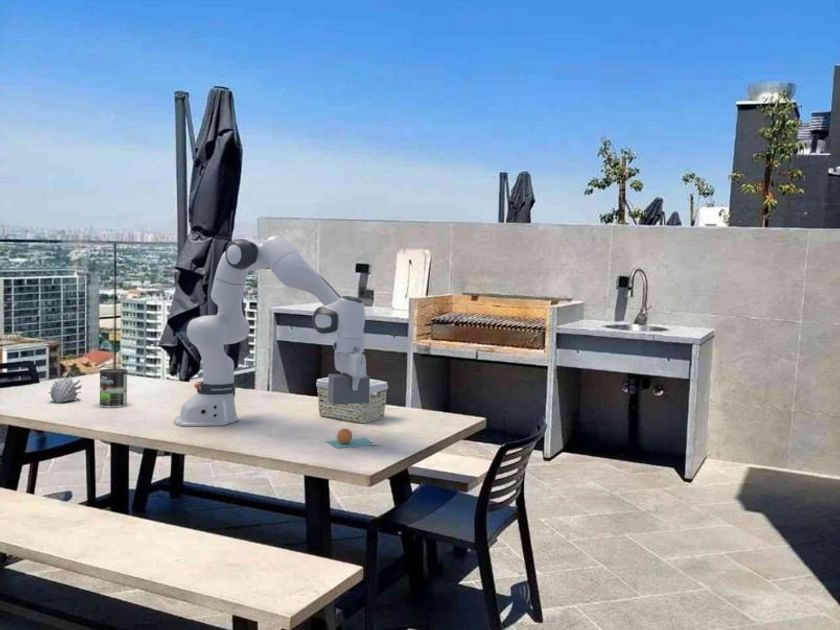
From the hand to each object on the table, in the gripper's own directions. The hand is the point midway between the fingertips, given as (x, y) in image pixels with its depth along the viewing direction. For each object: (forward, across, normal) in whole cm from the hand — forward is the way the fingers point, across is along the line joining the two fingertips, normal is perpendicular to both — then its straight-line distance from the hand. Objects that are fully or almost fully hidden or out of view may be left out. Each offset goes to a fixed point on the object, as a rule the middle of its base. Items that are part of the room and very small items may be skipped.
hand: (349, 388), depth 255 cm
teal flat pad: (+19, 0, -1) cm, 19 cm away
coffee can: (+19, +90, +66) cm, 113 cm away
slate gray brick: (+5, 0, 0) cm, 5 cm away
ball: (+16, 0, +1) cm, 16 cm away
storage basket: (+19, +39, -16) cm, 46 cm away
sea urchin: (+19, +104, +83) cm, 134 cm away
